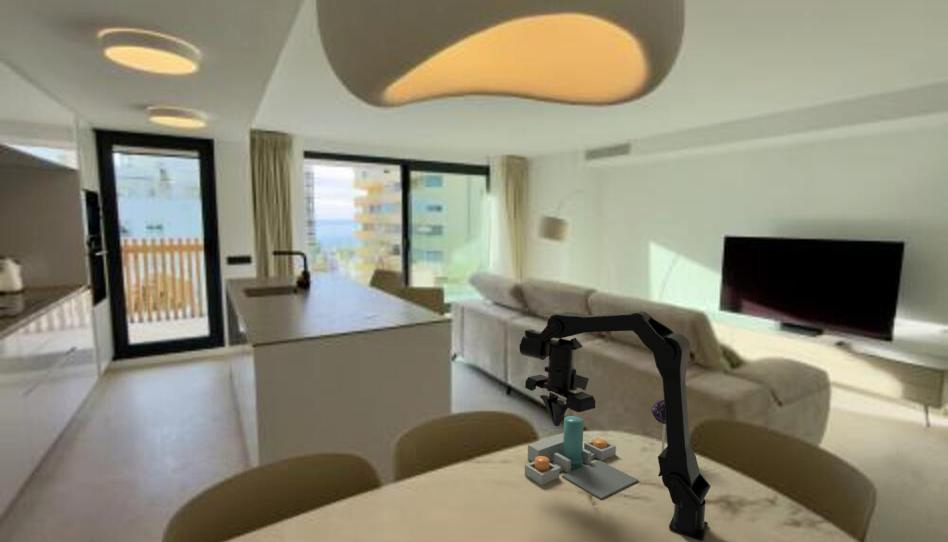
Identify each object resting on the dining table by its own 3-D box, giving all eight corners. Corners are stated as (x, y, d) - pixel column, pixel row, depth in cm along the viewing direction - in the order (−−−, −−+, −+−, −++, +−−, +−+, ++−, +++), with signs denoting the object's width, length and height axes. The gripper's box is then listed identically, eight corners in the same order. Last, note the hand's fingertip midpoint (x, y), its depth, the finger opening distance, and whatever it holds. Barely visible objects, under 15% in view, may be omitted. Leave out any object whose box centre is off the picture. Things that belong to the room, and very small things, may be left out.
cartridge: (577, 471, 119) (579, 425, 118) (558, 465, 122) (560, 420, 121) (585, 463, 123) (587, 418, 122) (566, 457, 126) (568, 414, 125)
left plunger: (545, 476, 113) (545, 464, 113) (532, 471, 115) (532, 460, 115) (551, 470, 116) (552, 458, 116) (538, 466, 118) (538, 454, 118)
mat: (638, 481, 114) (638, 479, 114) (600, 499, 106) (601, 497, 106) (599, 461, 124) (599, 460, 124) (562, 476, 116) (562, 475, 116)
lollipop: (645, 452, 130) (647, 399, 129) (656, 445, 134) (659, 394, 133) (669, 461, 125) (672, 406, 124) (680, 453, 129) (683, 400, 128)
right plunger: (604, 456, 126) (604, 445, 126) (591, 452, 128) (591, 442, 128) (608, 451, 129) (608, 440, 129) (595, 447, 131) (596, 437, 131)
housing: (615, 454, 128) (616, 440, 128) (541, 485, 112) (541, 469, 111) (583, 439, 137) (583, 426, 137) (510, 465, 121) (510, 450, 121)
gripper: (613, 369, 110) (608, 433, 112) (556, 350, 125) (553, 406, 127) (580, 377, 104) (576, 444, 105) (525, 355, 119) (522, 414, 121)
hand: (556, 425), depth 115 cm, fingers closed
